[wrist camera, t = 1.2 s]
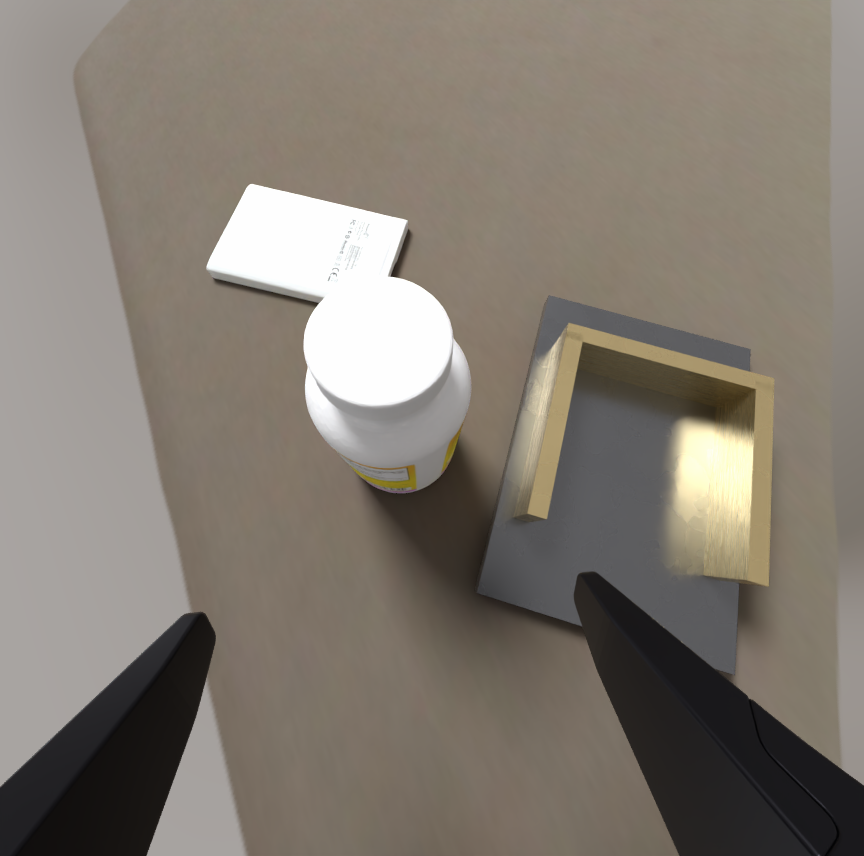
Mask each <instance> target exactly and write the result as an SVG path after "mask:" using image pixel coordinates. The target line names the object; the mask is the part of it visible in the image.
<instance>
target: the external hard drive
mask: <svg viewBox="0 0 864 856" xmlns="http://www.w3.org/2000/svg"><path fill="white" fill-rule="evenodd" d="M407 231H408V221H407V220H403V219H399V218H395V217H390V216H385V215H382V214H377V213H373V212H369V211H365V210H361V209H356V208H352V207H348V206H343V205H340V204H335V203H331V202H327V201H322V200H318V199H314V198H309V197H305V196H301V195H297V194H293V193H288V192H284V191H279V190H275V189H271V188H266V187H262V186H257V185H253V184H250V185H249V186H248V187H247V189H246V191H245V193H244V194H243V196H242V198H241V200H240V202H239V204H238V206H237V208H236V210H235V212H234V214H233V215H232V217H231V219H230V221H229V223H228V225H227V227H226V229H225V230H224V232H223V234H222V236H221V238H220V240H219V242H218V244H217V246H216V248H215V249H214V251H213V253H212V255H211V257H210V259H209V262H208V264H207V267H206V268H207V271H208V272H209V273H210V274H211V276H212V277H213V278H215V279H220V280H224V281H228V282H232V283H236V284H241V285H245V286H249V287H254V288H258V289H262V290H266V291H270V292H275V293H279V294H283V295H287V296H291V297H296V298H300V299H304V300H308V301H312V302H317V303H320V302H321V301H322V300H323V299H324V298H325V297H326V296H327V295H328V294H330V293H331V292H332V291H334V290H335V289H337V288H338V287H340V286H342V285H344V284H346V283H348V282H351V281H354V280H357V279H361V278H366V277H375V276H387V277H391V274H392V271H393V268H394V265H395V263H396V262H397V260H398V257H399V254H400V251H401V248H402V245H403V242H404V239H405V236H406V234H407Z"/></svg>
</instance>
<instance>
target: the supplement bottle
mask: <svg viewBox="0 0 864 856" xmlns="http://www.w3.org/2000/svg"><path fill="white" fill-rule="evenodd" d="M304 354H305V359H306V362H307V365H308V370H307V374H306V381H305V396H306V402H307V407H308V410H309V414H310V416H311V418H312V420H313V422H314V424H315V426H316V428H317V429H318V431H319V432H320V434H321V435H322V436H323V438H324V439H325V440H326V441H327V442H328V444H329V445H330V446H331V447H332V448H333V449H334V450H335V451H336V452H337V453H338V454H339V455H340V456H341V457H342V458H343V459H344V460H345V461H346V462H347V463H348V464H349V465H350V466H351V468H352V469H353V470H354V471H355V472H356V473H357V474H358V475H359V476H360V477H361V478H362V479H364V480H365V481H366V482H368V483H369V484H371V485H372V486H374V487H376V488H378V489H381V490H384V491H387V492H392V493H409V492H414V491H417V490H420V489H423V488H425V487H427V486H429V485H430V484H432V483H433V482H434V481H436V480H437V479H438V478H439V477H440V476H441V475H442V474H443V472H444V471H445V470H446V468H447V466H448V464H449V463H450V461H451V458H452V456H453V453H454V450H455V447H456V444H457V441H458V438H459V435H460V431H461V428H462V425H463V422H464V420H465V417H466V414H467V410H468V407H469V403H470V397H471V376H470V371H469V367H468V363H467V360H466V358H465V356H464V354H463V352H462V350H461V348H460V347H459V345H458V344H457V343H456V341H455V340H454V339H453V330H452V327H451V323H450V320H449V318H448V315H447V313H446V312H445V310H444V308H443V307H442V306H441V304H440V303H439V302H438V301H437V300H436V299H435V298H434V297H433V296H432V295H431V294H430V293H428V292H427V291H426V290H424V289H423V288H421V287H420V286H418V285H416V284H414V283H412V282H409V281H406V280H404V279H399V278H395V277H387V276H375V277H366V278H361V279H357V280H354V281H351V282H348V283H346V284H344V285H342V286H340V287H338V288H337V289H335V290H334V291H332V292H331V293H330V294H328V295H327V296H326V297H325V298H324V299H323V300H322V301H321V302H320V303H319V304H318V306H317V307H316V308H315V310H314V311H313V313H312V315H311V317H310V319H309V321H308V323H307V326H306V330H305V334H304Z"/></svg>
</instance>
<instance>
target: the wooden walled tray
mask: <svg viewBox="0 0 864 856" xmlns="http://www.w3.org/2000/svg"><path fill="white" fill-rule="evenodd" d="M750 350H751V349H747V348H744V347H740V346H736V345H732V344H729V343H725V342H721V341H718V340H714V339H710V338H706V337H703V336H699V335H695V334H691V333H688V332H684V331H680V330H677V329H673V328H669V327H665V326H662V325H658V324H654V323H650V322H647V321H643V320H639V319H635V318H632V317H628V316H624V315H621V314H617V313H613V312H609V311H606V310H602V309H598V308H594V307H591V306H587V305H583V304H580V303H576V302H572V301H568V300H565V299H561V298H557V297H553V296H550V295H549V296H548V298H547V300H546V302H545V304H544V308H543V312H542V316H541V320H540V324H539V329H538V333H537V337H536V341H535V345H534V349H533V353H532V357H531V361H530V365H529V370H528V374H527V378H526V382H525V386H524V390H523V394H522V398H521V402H520V406H519V410H518V415H517V419H516V423H515V427H514V431H513V435H512V439H511V443H510V447H509V451H508V456H507V460H506V464H505V468H504V472H503V476H502V480H501V484H500V488H499V492H498V497H497V501H496V505H495V509H494V513H493V517H492V521H491V525H490V529H489V533H488V537H487V542H486V546H485V550H484V554H483V558H482V562H481V566H480V570H479V574H478V578H477V583H476V587H475V592H477V593H479V594H482V595H485V596H488V597H491V598H494V599H498V600H501V601H504V602H507V603H510V604H513V605H516V606H520V607H523V608H526V609H529V610H532V611H535V612H538V613H542V614H545V615H548V616H551V617H554V618H557V619H560V620H564V621H567V622H570V623H573V624H576V625H579V626H582V624H581V621H580V618H579V615H578V612H577V609H576V606H575V603H574V590H575V585H576V580H577V576H578V574H579V573H581V572H590V571H594V572H597V573H598V574H600V575H601V576H602V577H603V578H604V579H606V580H607V581H608V582H609V583H611V584H612V585H613V586H614V587H615V588H617V589H618V590H619V591H620V592H622V593H623V594H624V595H625V596H626V597H628V598H629V599H630V600H631V601H633V602H634V603H635V604H636V605H637V606H639V607H640V608H641V609H642V610H644V611H645V612H646V613H647V614H648V615H650V616H651V617H652V618H653V619H654V620H656V621H657V622H658V623H659V624H661V625H662V626H663V627H664V628H665V629H667V630H668V631H669V632H670V633H672V634H673V635H674V636H675V637H676V638H678V639H679V640H680V641H681V642H683V643H684V644H685V645H686V646H687V647H689V648H690V649H691V650H692V651H694V652H695V653H696V654H697V655H698V656H700V657H701V658H702V659H703V660H705V661H706V662H707V663H708V664H709V665H711V666H712V667H713V668H714V669H717V670H721V671H724V672H727V673H730V674H733V675H735V660H736V639H737V619H738V598H739V583H744V584H752V585H759V586H767V587H769V556H770V518H771V480H772V442H773V404H774V378H771V377H767V376H763V375H760V374H756V373H752V372H749V370H750Z"/></svg>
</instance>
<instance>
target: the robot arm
mask: <svg viewBox="0 0 864 856" xmlns="http://www.w3.org/2000/svg"><path fill="white" fill-rule="evenodd" d="M574 603H575V606H576V609H577V612H578V615H579V618H580V621H581V624H582V627H583V630H584V633H585V636H586V639H587V642H588V645H589V648H590V651H591V654H592V657H593V660H594V663H595V666H596V669H597V671H598V673H599V676H600V678H601V680H602V683H603V685H604V687H605V689H606V692H607V694H608V696H609V698H610V701H611V703H612V705H613V707H614V710H615V712H616V714H617V716H618V719H619V721H620V723H621V725H622V728H623V730H624V732H625V734H626V737H627V739H628V741H629V743H630V746H631V748H632V750H633V752H634V755H635V757H636V759H637V761H638V764H639V766H640V768H641V770H642V773H643V775H644V777H645V779H646V782H647V784H648V786H649V788H650V791H651V793H652V795H653V797H654V800H655V802H656V804H657V806H658V809H659V811H660V813H661V815H662V818H663V820H664V822H665V824H666V827H667V829H668V831H669V833H670V836H671V838H672V840H673V842H674V845H675V847H676V849H677V851H678V854H679V856H864V785H862V784H861V783H860V782H858V781H857V780H856V779H854V778H853V777H851V776H850V775H849V774H847V773H846V772H845V771H843V770H842V769H841V768H839V767H838V766H837V765H835V764H834V763H833V762H831V761H830V760H829V759H827V758H826V757H825V756H823V755H822V754H821V753H819V752H818V751H817V750H815V749H814V748H813V747H811V746H810V745H808V744H807V743H806V742H805V741H803V740H802V739H801V738H800V737H798V736H797V735H796V734H794V733H793V732H792V731H791V730H789V729H788V728H787V727H786V726H784V725H783V724H782V723H781V722H779V721H778V720H777V719H776V718H774V717H773V716H772V715H771V714H769V713H768V712H767V711H766V710H765V709H763V708H762V707H761V706H760V705H758V704H757V703H756V702H755V701H754V700H752V699H749V698H748V696H747V695H746V694H745V693H744V692H742V691H741V690H740V689H739V688H737V687H736V686H735V685H734V684H733V683H731V682H730V681H729V680H728V679H726V678H725V677H724V676H723V675H722V674H720V673H719V672H718V671H717V670H716V669H714V668H713V667H712V666H711V665H709V664H708V663H707V662H706V661H705V660H703V659H702V658H701V657H700V656H698V655H697V654H696V653H695V652H694V651H692V650H691V649H690V648H689V647H687V646H686V645H685V644H684V643H683V642H681V641H680V640H679V639H678V638H676V637H675V636H674V635H673V634H672V633H670V632H669V631H668V630H667V629H665V628H664V627H663V626H662V625H661V624H659V623H658V622H657V621H656V620H654V619H653V618H652V617H651V616H650V615H648V614H647V613H646V612H645V611H644V610H642V609H641V608H640V607H639V606H637V605H636V604H635V603H634V602H633V601H631V600H630V599H629V598H628V597H626V596H625V595H624V594H623V593H622V592H620V591H619V590H618V589H617V588H615V587H614V586H613V585H612V584H611V583H609V582H608V581H607V580H606V579H604V578H603V577H602V576H601V575H600V574H598V573H597V572H594V571H590V572H581V573H579V574H578V576H577V580H576V585H575V590H574ZM215 641H216V635H215V631H214V629H213V627H212V625H211V623H210V622H209V620H208V618H207V616H206V614H205V613H203V612H195V613H187V614H184V615H183V616H181V617H180V618H179V619H178V620H177V621H176V622H175V623H174V624H173V625H171V626H170V627H169V628H168V629H167V630H166V631H165V632H164V633H163V634H162V635H161V636H160V637H159V638H158V639H157V640H156V641H155V642H153V643H152V644H151V645H150V646H149V647H148V648H147V649H146V650H145V651H144V652H143V653H142V654H141V655H140V656H139V657H137V658H136V659H135V660H134V661H133V662H132V663H131V664H130V665H129V666H128V667H127V668H126V669H125V670H124V671H123V672H122V673H120V675H119V676H117V677H116V678H115V679H114V680H113V681H112V682H111V683H110V684H109V685H108V686H107V687H106V688H105V689H104V690H102V691H101V692H100V693H99V694H98V695H97V696H96V697H95V698H94V699H93V700H92V701H91V702H90V703H89V704H88V705H87V706H85V707H84V708H83V709H82V710H81V711H80V712H79V713H78V714H77V715H76V716H75V717H74V718H73V719H72V720H71V721H69V723H67V724H66V725H65V726H64V727H63V728H62V729H61V730H60V731H59V732H58V733H57V734H56V735H55V736H54V737H53V738H52V739H50V740H49V741H48V742H47V743H46V744H45V745H44V746H43V747H42V748H41V749H40V750H39V751H38V752H37V753H35V754H34V755H33V756H32V758H30V759H29V760H28V761H27V762H26V763H25V764H24V765H23V766H22V767H21V768H20V769H18V770H17V771H16V772H15V773H14V774H13V775H12V776H11V777H10V778H9V779H8V780H7V781H6V782H5V783H4V784H3V785H2V786H0V856H146V855H147V852H148V850H149V847H150V844H151V842H152V839H153V836H154V833H155V830H156V827H157V825H158V822H159V819H160V816H161V813H162V811H163V808H164V805H165V802H166V800H167V797H168V794H169V791H170V789H171V786H172V783H173V780H174V777H175V775H176V772H177V769H178V766H179V763H180V761H181V757H182V755H183V752H184V749H185V747H186V744H187V741H188V738H189V735H190V733H191V730H192V727H193V724H194V721H195V718H196V715H197V711H198V707H199V704H200V701H201V696H202V692H203V689H204V685H205V681H206V677H207V673H208V670H209V666H210V662H211V658H212V654H213V650H214V646H215Z"/></svg>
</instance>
